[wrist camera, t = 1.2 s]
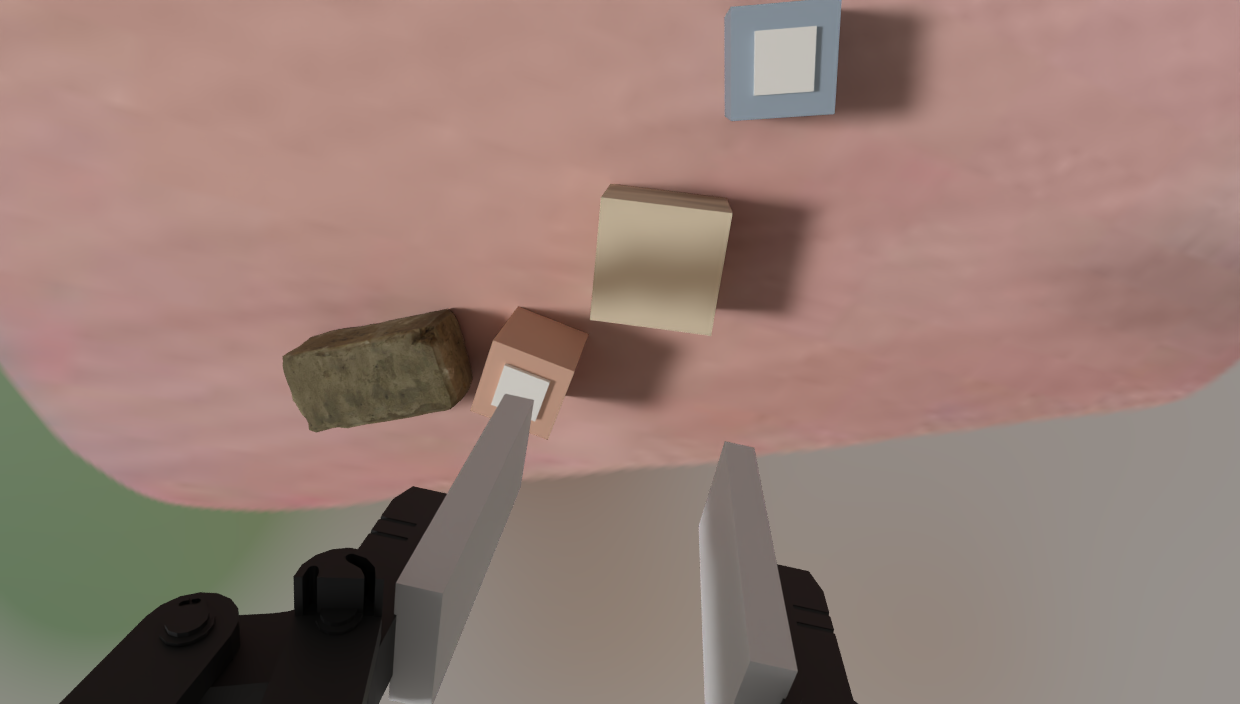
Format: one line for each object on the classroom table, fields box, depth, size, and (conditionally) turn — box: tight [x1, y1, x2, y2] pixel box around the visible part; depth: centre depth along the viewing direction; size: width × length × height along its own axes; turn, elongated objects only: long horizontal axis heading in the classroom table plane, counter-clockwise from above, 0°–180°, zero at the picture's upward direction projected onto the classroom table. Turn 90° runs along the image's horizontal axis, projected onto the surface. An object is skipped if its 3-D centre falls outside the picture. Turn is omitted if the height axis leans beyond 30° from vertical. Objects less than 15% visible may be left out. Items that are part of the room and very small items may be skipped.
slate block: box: [725, 0, 841, 121], centre depth 32 cm, size 5×5×5 cm
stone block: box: [283, 309, 473, 432], centre depth 42 cm, size 6×12×5 cm, turn 104°
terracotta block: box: [470, 307, 589, 440], centre depth 40 cm, size 5×5×6 cm
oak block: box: [590, 184, 733, 336], centre depth 37 cm, size 7×7×5 cm
